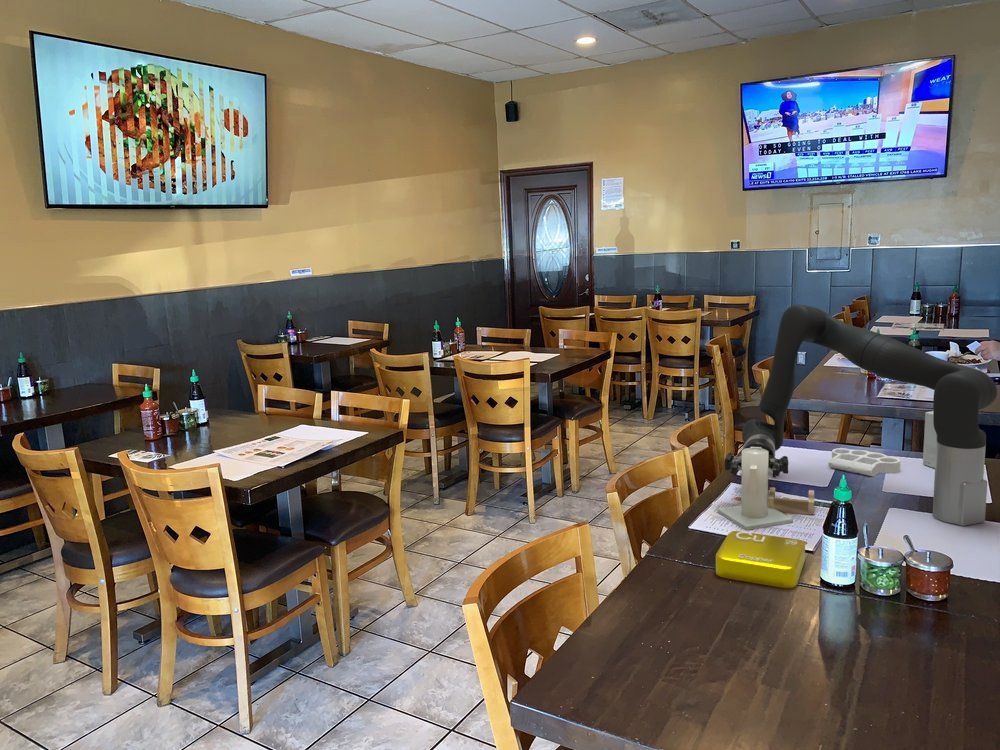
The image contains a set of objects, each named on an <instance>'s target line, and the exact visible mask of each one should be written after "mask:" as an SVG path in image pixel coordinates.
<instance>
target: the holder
mask: <svg viewBox="0 0 1000 750" xmlns="http://www.w3.org/2000/svg"><path fill="white" fill-rule="evenodd" d="M768 492H769V493H768V508H774V509H776V510H778V511H779V512H781V513H784V514H785V513H786V514H787V513H788V514H797V515H798V514H799V515H808V514H813V515H814V514H815V490H813V489H809V490H808V499H796V498H795V499H794V498H784V497H783V498H781V497H776V487H771V486H770V487H769V490H768ZM813 515H812V516H813Z"/></svg>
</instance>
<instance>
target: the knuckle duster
mask: <svg viewBox="0 0 1000 750" xmlns="http://www.w3.org/2000/svg"><path fill="white" fill-rule="evenodd" d="M827 464H828V465H827V466H828V468H831V469H833V468H834V470H835V469H836V470H841V471H844V470H845V472H849V473H854V474H858V473H859V475H863V476H868V477H876V476H877V475H879V474H889V473H892V474H897V473H900V472H901V459H900V458H898V457H895V456H894V457H893V456H889V455H886V454H884V453H881V452H874V451H869V450H867V449H866V450H865V449H851V448H847V447H839V448H834V449H832V450H831V458H830V459H829V461H828V463H827Z"/></svg>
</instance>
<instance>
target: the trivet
mask: <svg viewBox="0 0 1000 750" xmlns="http://www.w3.org/2000/svg"><path fill="white" fill-rule="evenodd" d="M717 513H719V514H720V515H721V514H722V517H725V518H726V519H728V520H729V521H730V522H732V523H734V524H735V525H738V527H740V528H742V529H744V530H745V531H748V530H749V531H750V530H755V529H762V528H767V527H773V526H778V525H786V524H790V523H791V524H792V523H793V522H794V519H793V518H792V517H791V516H789V515H787V514H785V513H784V512H779V511H778V510H776V509H774V508H768V514H767V516H766V517H763V518H750V517H746V516H744V515H742V514H741V504H740V505H739V504H738V505H733V506H727V507H720V508H717Z"/></svg>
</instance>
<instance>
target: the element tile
mask: <svg viewBox="0 0 1000 750" xmlns="http://www.w3.org/2000/svg"><path fill="white" fill-rule="evenodd" d="M805 556H806V544H805V542H804V541H803V540H802V539H799V538H791V537H782V536H778V535H769V534H761V533H755V532H747V531H739V530H733V531H730V532H729V533H728V534H727V535H726V537H725V539H724V540H723V542H722V543H721V545H720V546H719V549H718V550H717V552H716V554H715V574H716V576H718V577H720V578H725V579H728V580H729V579H730V580H734V581H740V582H741V581H742V582H748V583H753V584H758V585H759V584H760V585H765V586H770V587H771V586H772V587H777V588H782V589H793V588H795V587H796V586H798V583H799V579H800V576H801V574H802V571H803V567H804V566H805V565H804V564H805V561H806V557H805Z"/></svg>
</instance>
